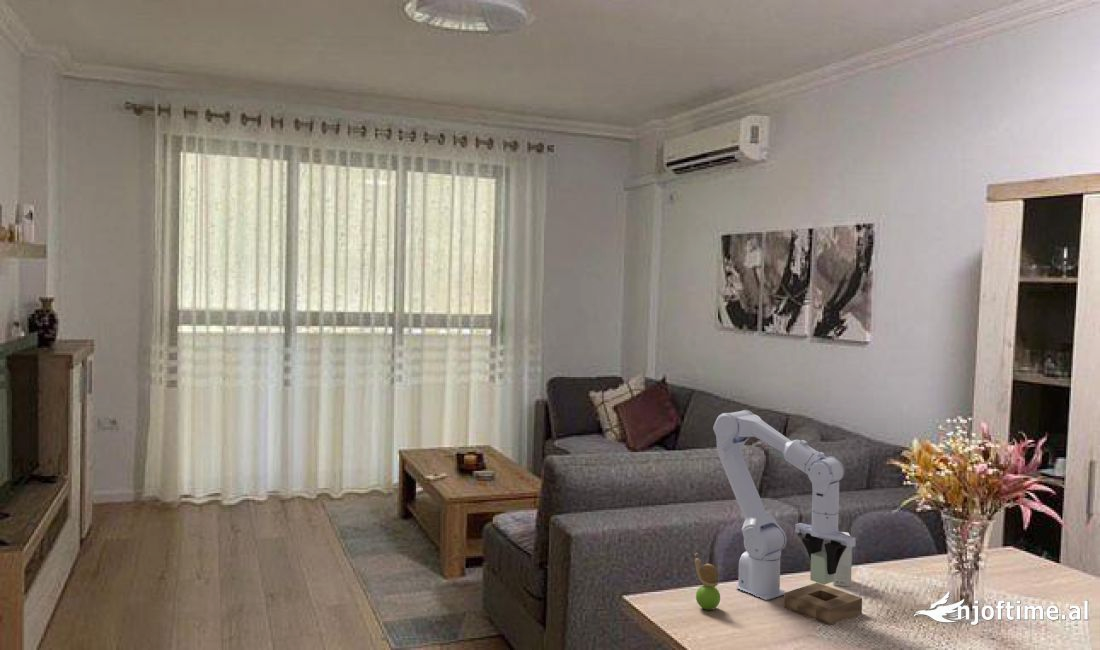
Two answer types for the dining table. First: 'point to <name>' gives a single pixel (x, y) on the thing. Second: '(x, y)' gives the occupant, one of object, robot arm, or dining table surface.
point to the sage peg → (820, 568)
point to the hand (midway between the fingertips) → (823, 571)
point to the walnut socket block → (823, 603)
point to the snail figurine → (707, 585)
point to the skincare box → (844, 568)
